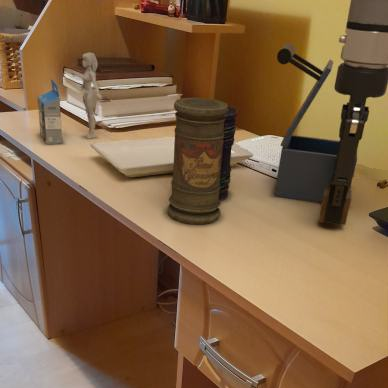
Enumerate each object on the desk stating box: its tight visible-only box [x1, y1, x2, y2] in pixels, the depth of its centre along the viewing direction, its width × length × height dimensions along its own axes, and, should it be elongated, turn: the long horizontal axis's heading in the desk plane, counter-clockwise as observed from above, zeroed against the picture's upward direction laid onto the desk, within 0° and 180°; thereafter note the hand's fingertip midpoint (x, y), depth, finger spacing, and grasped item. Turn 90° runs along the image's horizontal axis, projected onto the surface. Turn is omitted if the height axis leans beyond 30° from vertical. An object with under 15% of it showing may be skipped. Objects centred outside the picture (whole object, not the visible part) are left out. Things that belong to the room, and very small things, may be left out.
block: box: [317, 187, 352, 226], centre depth 88 cm, size 4×4×4 cm
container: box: [167, 97, 229, 225], centre depth 84 cm, size 9×9×18 cm
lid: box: [276, 43, 334, 147], centre depth 94 cm, size 14×12×9 cm
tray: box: [89, 135, 254, 178], centre depth 111 cm, size 17×32×4 cm, turn 119°
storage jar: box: [219, 105, 238, 202], centre depth 94 cm, size 10×10×15 cm
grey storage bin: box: [274, 134, 358, 204], centre depth 101 cm, size 14×12×9 cm
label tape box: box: [37, 78, 63, 145], centre depth 118 cm, size 9×4×12 cm, turn 23°
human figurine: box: [79, 51, 104, 139], centre depth 120 cm, size 12×4×18 cm, turn 29°
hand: (332, 216), depth 89 cm, fingers closed on block, 4 cm apart
